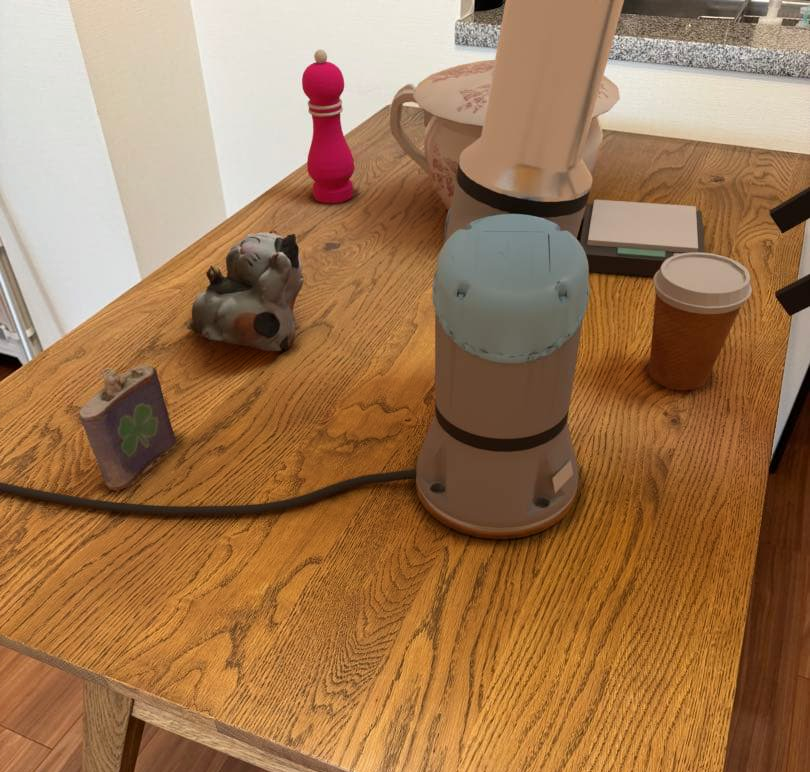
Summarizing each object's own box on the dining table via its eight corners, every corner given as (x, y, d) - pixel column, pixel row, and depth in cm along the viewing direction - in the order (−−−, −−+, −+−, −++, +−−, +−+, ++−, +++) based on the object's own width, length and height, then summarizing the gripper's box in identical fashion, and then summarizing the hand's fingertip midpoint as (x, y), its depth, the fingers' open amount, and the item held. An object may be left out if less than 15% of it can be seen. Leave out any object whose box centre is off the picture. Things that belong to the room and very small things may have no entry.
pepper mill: (365, 191, 123) (356, 46, 109) (338, 208, 119) (325, 59, 105) (328, 183, 126) (315, 40, 112) (301, 199, 122) (283, 53, 107)
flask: (120, 495, 75) (84, 403, 67) (97, 486, 76) (59, 394, 68) (183, 441, 80) (156, 350, 73) (161, 433, 81) (132, 343, 74)
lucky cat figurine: (180, 322, 97) (199, 204, 92) (275, 341, 102) (297, 230, 97) (196, 350, 84) (218, 215, 79) (302, 370, 89) (329, 245, 84)
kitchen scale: (575, 270, 103) (578, 247, 101) (584, 219, 114) (587, 197, 112) (700, 281, 101) (707, 257, 98) (697, 227, 111) (703, 205, 109)
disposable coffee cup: (726, 403, 82) (760, 299, 74) (633, 394, 84) (656, 291, 75) (719, 354, 89) (750, 253, 80) (633, 347, 90) (655, 247, 82)
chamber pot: (641, 221, 113) (672, 59, 98) (492, 276, 103) (501, 104, 88) (517, 163, 130) (527, 16, 115) (378, 205, 119) (370, 50, 105)
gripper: (1104, 239, 56) (805, 370, 71) (1026, 82, 71) (790, 218, 85) (1071, 161, 53) (764, 315, 67) (996, 11, 67) (756, 166, 82)
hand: (778, 261), depth 76 cm, fingers open, 13 cm apart
